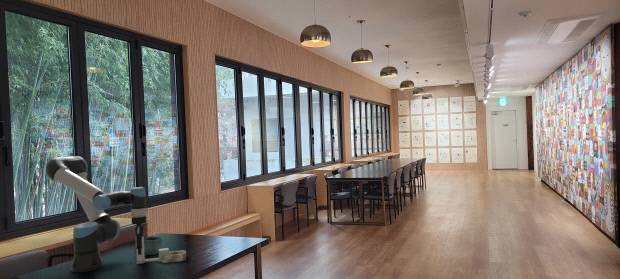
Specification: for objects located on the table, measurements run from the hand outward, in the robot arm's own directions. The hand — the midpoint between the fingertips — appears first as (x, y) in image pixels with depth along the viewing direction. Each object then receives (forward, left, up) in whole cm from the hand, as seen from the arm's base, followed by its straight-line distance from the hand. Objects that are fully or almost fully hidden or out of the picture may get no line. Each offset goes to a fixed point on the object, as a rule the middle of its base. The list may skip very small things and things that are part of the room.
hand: (140, 259), depth 244 cm
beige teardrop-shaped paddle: (+6, 0, -2) cm, 7 cm away
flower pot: (+4, +19, -2) cm, 20 cm away
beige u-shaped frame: (+17, 0, -2) cm, 18 cm away
